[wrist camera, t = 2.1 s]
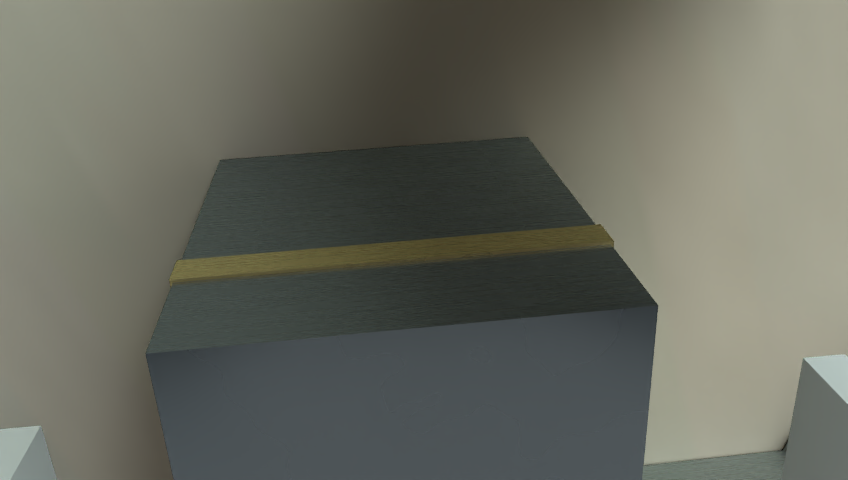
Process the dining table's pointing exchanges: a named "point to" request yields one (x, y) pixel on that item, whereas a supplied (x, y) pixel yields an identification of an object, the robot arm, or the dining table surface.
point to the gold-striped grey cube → (402, 324)
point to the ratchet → (721, 468)
